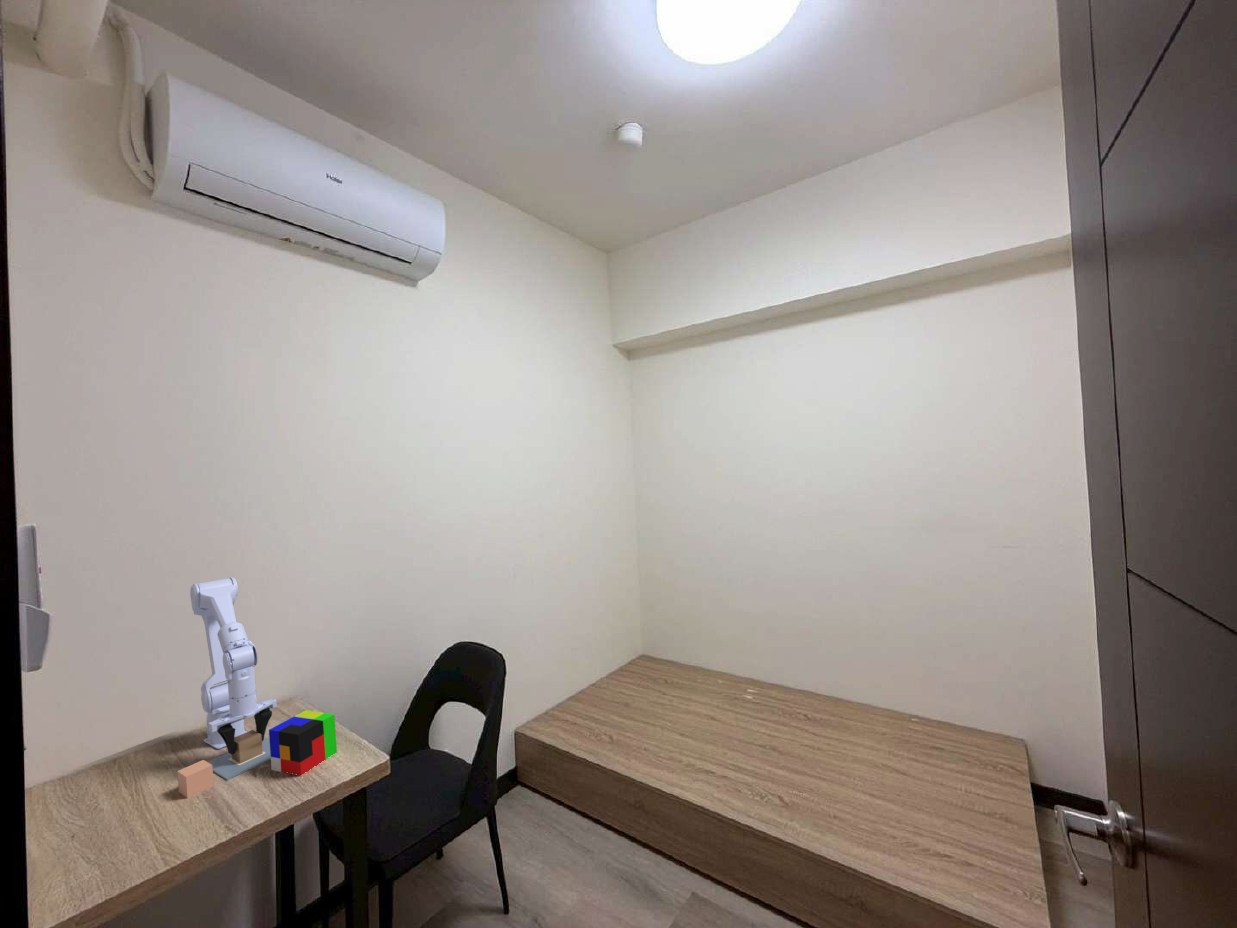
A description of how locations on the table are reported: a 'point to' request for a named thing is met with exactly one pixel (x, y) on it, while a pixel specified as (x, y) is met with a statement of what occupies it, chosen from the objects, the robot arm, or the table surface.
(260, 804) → the table surface
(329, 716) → the puzzle toy
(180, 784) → the terracotta block
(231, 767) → the plate
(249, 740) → the walnut block
